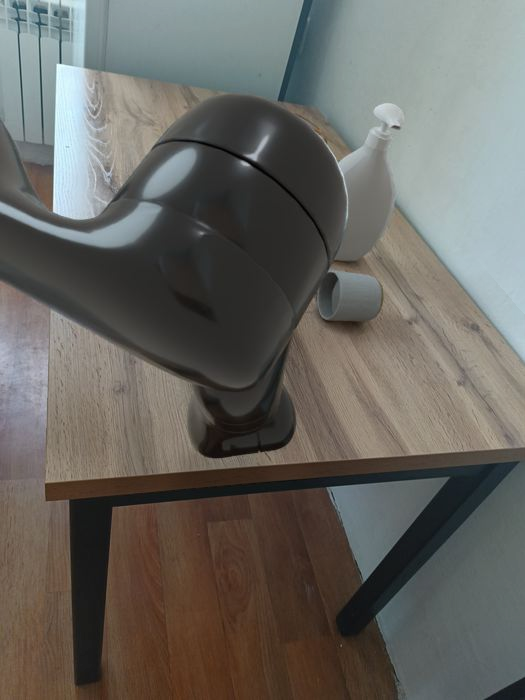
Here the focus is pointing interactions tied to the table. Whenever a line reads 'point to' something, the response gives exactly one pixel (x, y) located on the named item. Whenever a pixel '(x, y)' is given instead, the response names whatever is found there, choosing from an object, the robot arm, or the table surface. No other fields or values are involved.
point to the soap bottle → (369, 187)
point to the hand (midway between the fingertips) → (214, 230)
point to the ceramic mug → (349, 297)
